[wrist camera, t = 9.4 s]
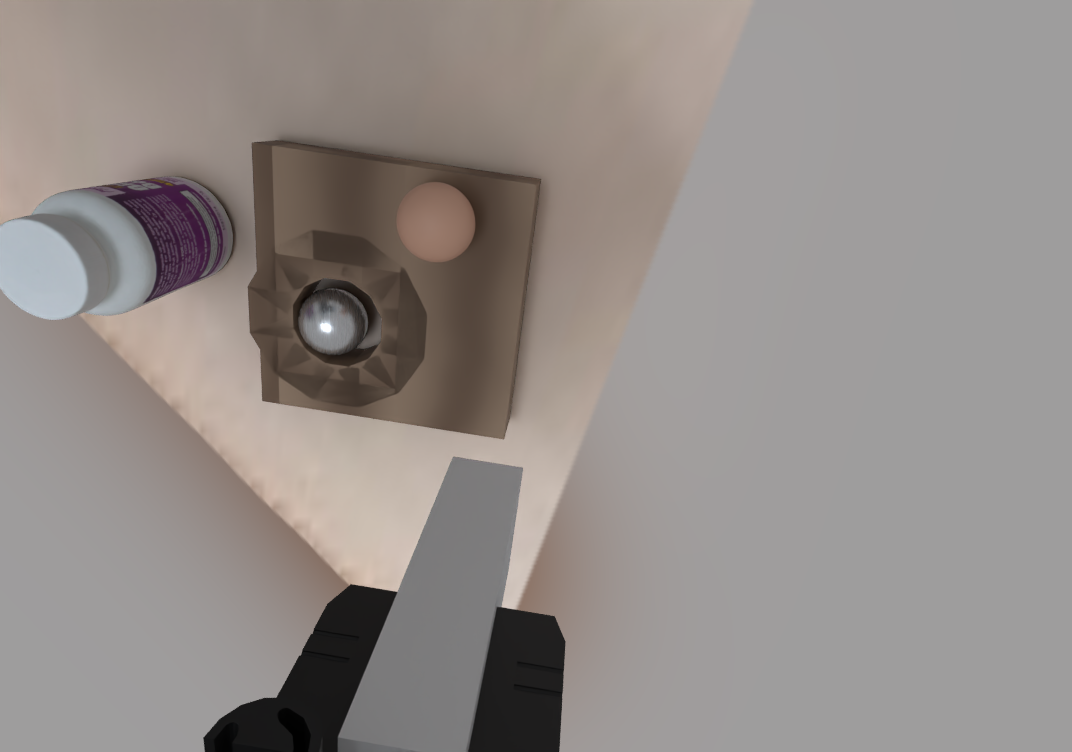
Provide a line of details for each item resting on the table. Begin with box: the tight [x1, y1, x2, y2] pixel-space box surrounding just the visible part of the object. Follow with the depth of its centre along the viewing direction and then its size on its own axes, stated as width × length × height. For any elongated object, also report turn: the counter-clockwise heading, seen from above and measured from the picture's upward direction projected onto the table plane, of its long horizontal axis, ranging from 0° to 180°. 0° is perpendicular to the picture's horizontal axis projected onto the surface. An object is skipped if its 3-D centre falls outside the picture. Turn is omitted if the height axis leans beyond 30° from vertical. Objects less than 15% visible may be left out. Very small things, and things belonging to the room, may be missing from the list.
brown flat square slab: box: [248, 140, 541, 439], centre depth 32 cm, size 14×13×2 cm
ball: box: [298, 288, 368, 355], centre depth 33 cm, size 3×3×3 cm
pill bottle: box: [0, 176, 233, 320], centre depth 29 cm, size 5×5×10 cm
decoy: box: [396, 182, 475, 262], centre depth 28 cm, size 3×3×3 cm
